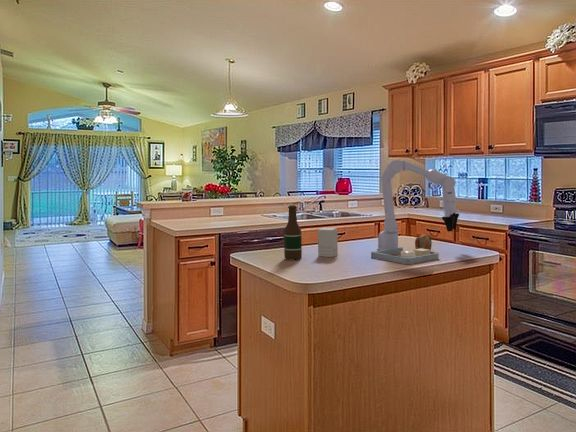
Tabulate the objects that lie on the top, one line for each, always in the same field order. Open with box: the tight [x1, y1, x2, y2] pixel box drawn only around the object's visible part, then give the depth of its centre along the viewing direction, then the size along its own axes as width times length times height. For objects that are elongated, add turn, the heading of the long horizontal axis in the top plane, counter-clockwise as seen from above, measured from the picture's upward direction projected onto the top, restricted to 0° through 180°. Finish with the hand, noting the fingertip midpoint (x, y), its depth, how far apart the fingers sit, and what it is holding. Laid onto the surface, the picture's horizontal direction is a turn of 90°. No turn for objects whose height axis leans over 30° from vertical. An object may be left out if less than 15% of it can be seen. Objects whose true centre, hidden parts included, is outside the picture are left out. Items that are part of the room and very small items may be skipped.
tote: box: [370, 246, 440, 265], centre depth 208 cm, size 21×20×2 cm
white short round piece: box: [400, 250, 415, 258], centre depth 202 cm, size 6×6×4 cm
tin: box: [414, 234, 433, 251], centre depth 220 cm, size 15×3×8 cm, turn 143°
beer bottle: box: [283, 204, 303, 260], centre depth 210 cm, size 8×8×24 cm
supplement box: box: [317, 227, 339, 258], centre depth 216 cm, size 7×7×13 cm
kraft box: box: [412, 248, 431, 257], centre depth 207 cm, size 5×5×4 cm
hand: (451, 230), depth 222 cm, fingers open, 7 cm apart
